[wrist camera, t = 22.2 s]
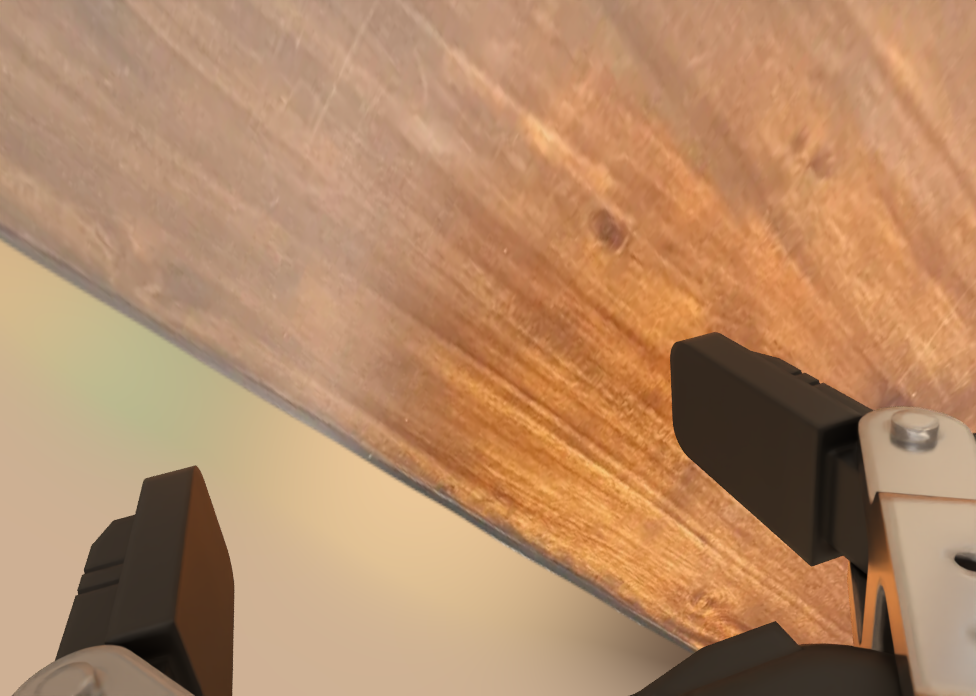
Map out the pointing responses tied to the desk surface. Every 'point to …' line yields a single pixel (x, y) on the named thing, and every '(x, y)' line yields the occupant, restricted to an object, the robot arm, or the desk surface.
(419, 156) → the desk surface
